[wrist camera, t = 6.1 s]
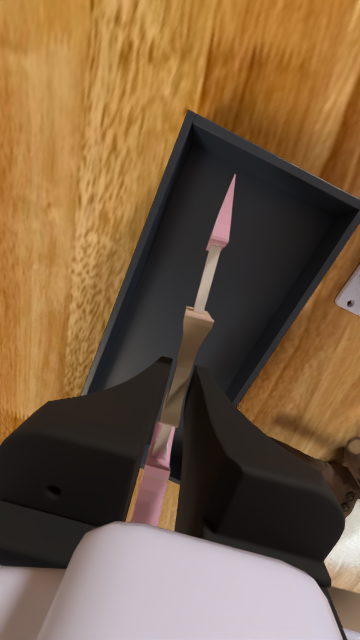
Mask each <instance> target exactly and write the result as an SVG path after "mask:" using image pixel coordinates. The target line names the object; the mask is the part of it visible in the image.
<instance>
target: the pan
mask: <svg viewBox="0 0 360 640" xmlns="http://www.w3.org/2000/svg"><path fill="white" fill-rule="evenodd" d="M235 174H236V177H235V186H234V195H233V204H232V215H231V225H230V234H229V242H228V244H227V245H226V246H225V247H223V248H222V251H221V252H220V254H219V258H218V261H217V265H216V269H215V272H214V276H213V280H212V283H211V287H210V291H209V294H208V298H207V301H206V305H205V309H204V311H208V313H209V314H210V316H211V318H212V319H213V320H214V323H213V326H212V329H211V330H210V331H209V333H208V334H207V336H206V337H205V339H204V340H203V342H202V344H201V346H200V347H199V349H198V352H197V354H196V357H195V359H194V362H193V366H192V369H191V372H190V376H189V379H188V382H187V386H186V389H185V394H184V398H183V402H182V408H181V413H180V421H179V425H178V428H176V427H175V431H174V436H173V441H172V447H171V453H170V462H169V467H170V469H171V470H170V475H169V479H168V480H170V481H172V482H175V483H177V484H179V485H180V481H181V471H182V459H183V413H184V405H185V398H186V394H187V390H188V387H189V384H190V380H191V377H192V374H193V370H194V367H195V365H199V366H203V367H206V368H207V369H208V371H209V372H210V374H211V375H212V377H213V378H214V380H215V381H216V383H217V384H218V385H219V387H220V388H221V390H222V391H223V392H224V394H225V395H226V396H227V397H228V398H229V400H230V401H231V402H232V403H233V404H234V405H235V407H237V405H238V404H239V402H240V401H241V399H242V398H243V396H244V395H245V393H246V392H247V390H248V389H249V387H250V386H251V385H252V383H253V382H254V380H255V379H256V377H257V376H258V374H259V373H260V371H261V370H262V368H263V367H264V365H265V364H266V362H267V361H268V359H269V358H270V356H271V355H272V353H273V352H274V350H275V349H276V347H277V346H278V344H279V343H280V341H281V340H282V338H283V337H284V335H285V334H286V332H287V331H288V329H289V328H290V326H291V325H292V323H293V322H294V320H295V319H296V317H297V316H298V314H299V313H300V311H301V310H302V308H303V307H304V305H305V304H306V303H307V301H308V300H309V298H310V297H311V295H312V294H313V292H314V291H315V289H316V288H317V286H318V285H319V283H320V282H321V280H322V279H323V277H324V276H325V274H326V273H327V271H328V270H329V268H330V267H331V265H332V264H333V262H334V261H335V259H336V258H337V256H338V255H339V253H340V252H341V250H342V249H343V247H344V246H345V244H346V243H347V241H348V240H349V238H350V237H351V235H352V234H353V232H354V231H355V229H356V228H357V226H358V225H359V224H360V199H358V198H356V197H354V196H352V195H351V194H349V193H347V192H345V191H343V190H341V189H339V188H337V187H335V186H333V185H332V184H330V183H328V182H326V181H324V180H322V179H320V178H318V177H316V176H314V175H312V174H311V173H309V172H307V171H305V170H303V169H301V168H299V167H297V166H295V165H293V164H292V163H290V162H288V161H286V160H284V159H282V158H280V157H278V156H276V155H274V154H273V153H271V152H269V151H267V150H265V149H263V148H261V147H259V146H257V145H255V144H253V143H252V142H250V141H248V140H246V139H244V138H242V137H240V136H238V135H236V134H234V133H233V132H231V131H229V130H227V129H225V128H223V127H221V126H219V125H217V124H215V123H214V122H212V121H210V120H208V119H206V118H204V117H202V116H200V115H198V114H196V113H194V112H192V111H190V110H188V111H187V114H186V116H185V119H184V122H183V124H182V127H181V130H180V132H179V135H178V138H177V140H176V143H175V146H174V148H173V151H172V154H171V156H170V159H169V162H168V164H167V167H166V169H165V172H164V175H163V177H162V180H161V183H160V185H159V188H158V191H157V193H156V196H155V199H154V201H153V204H152V207H151V209H150V212H149V215H148V217H147V220H146V223H145V225H144V228H143V231H142V233H141V236H140V239H139V241H138V244H137V247H136V249H135V252H134V254H133V257H132V260H131V262H130V265H129V268H128V270H127V273H126V276H125V278H124V281H123V284H122V286H121V289H120V292H119V294H118V297H117V300H116V302H115V305H114V308H113V310H112V313H111V316H110V318H109V321H108V324H107V326H106V329H105V331H104V334H103V337H102V339H101V342H100V345H99V347H98V350H97V353H96V355H95V358H94V361H93V363H92V366H91V369H90V371H89V374H88V377H87V379H86V382H85V385H84V387H83V390H82V393H81V395H80V396H83V395H87V394H91V393H95V392H98V391H102V390H105V389H108V388H110V387H113V386H116V385H119V384H121V383H123V382H125V381H127V380H129V379H131V378H133V377H134V376H136V375H138V374H139V373H141V372H142V371H144V370H145V369H147V368H148V367H149V366H151V365H152V364H153V363H154V362H155V361H156V360H158V359H159V358H160V357H161V356H164V357H168V358H172V359H173V362H172V366H171V369H170V373H169V377H168V381H167V385H166V389H165V393H164V396H163V400H162V404H161V408H160V410H159V413H158V416H157V419H156V421H155V424H154V427H153V429H152V432H151V435H150V438H149V440H148V443H147V446H146V449H145V452H144V455H143V458H142V462H141V466H140V468H142V469H144V468H145V464H146V460H147V456H148V452H149V448H150V444H151V441H152V437H153V433H154V429H155V425H156V422H160V419H161V414H162V410H163V405H164V401H165V397H166V395H167V393H168V390H169V387H170V384H171V381H172V378H173V375H174V371H175V367H176V363H177V359H178V355H179V351H180V348H181V343H182V339H183V321H184V316H185V311H186V307H187V306H189V307H193V308H194V305H195V302H196V298H197V294H198V290H199V287H200V283H201V279H202V275H203V272H204V268H205V264H206V260H207V257H208V253H209V251H207V250H206V248H207V245H208V242H209V239H210V236H211V234H212V231H213V228H214V225H215V222H216V220H217V217H218V214H219V212H220V209H221V207H222V204H223V202H224V199H225V197H226V194H227V192H228V189H229V187H230V185H231V182H232V180H233V177H234V175H235Z"/></svg>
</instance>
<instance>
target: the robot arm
mask: <svg viewBox="0 0 360 640" xmlns="http://www.w3.org/2000/svg"><path fill="white" fill-rule="evenodd" d="M348 301H351V303H350V304H349V305H348V306H347V302H348ZM335 303H336V305H338V306H340V307H342V308H344V309H346V310H348V311H350V312H352V313H354V314H356V315H358V316H360V264H359V266H358V267H357V269H356V270H355V271H354V273H353V274H352V276H351V277H350V278H349V280H348V281H347V283H346V284H345V285H344V287H343V288H342V290H341V291H340V293H339V294H338V295H337V297H336V299H335ZM172 362H173V359H172V358H168V357H164V356H161V357H160V358H159V359H158V360H156V361H155V362H154V363H153V364H152V365H151V366H149V367H148V368H147V369H145V370H144V371H142V372H141V373H139V374H138V375H136V376H134V377H133V378H131V379H129V380H127V381H125V382H123V383H121V384H119V385H116V386H113V387H110V388H108V389H105V390H102V391H98V392H95V393H91V394H87V395H83V396H78V397H73V398H66V399H60V400H54V401H48V402H47V403H46V404H44V405H43V406H42V407H41V408H39V409H38V410H37V411H35V412H34V413H33V414H32V415H31V416H30V417H29V418H28V419H26V420H25V421H24V422H23V423H22V424H21V425H20V426H19V427H18V428H17V429H16V430H15V431H14V432H12V433H11V434H10V435H9V436H8V437H7V438H6V439H5V440H4V441H3V442H2V444H1V445H0V640H360V632H356V631H353V630H349V629H345V628H343V627H342V625H341V622H340V620H339V617H338V615H337V613H336V610H335V607H334V605H333V603H332V600H331V597H330V595H329V592H328V590H327V587H328V588H329V587H330V586H331V578H330V576H329V573H328V571H327V569H326V566H325V564H324V562H323V561H324V560H325V558H326V557H327V556H328V554H329V553H330V551H331V550H332V549H333V547H334V546H335V545H336V543H337V542H338V540H339V539H340V537H341V535H342V533H343V531H344V528H345V515H344V512H343V509H342V507H341V505H340V503H339V502H338V500H337V498H336V496H335V495H334V493H333V491H332V490H331V488H330V486H329V485H328V483H327V481H326V480H325V478H324V476H323V475H322V473H321V472H319V471H318V470H316V469H314V468H313V467H311V466H310V465H308V464H307V463H305V462H304V461H302V460H300V459H299V458H297V457H296V456H294V455H293V454H291V453H290V452H288V451H287V450H285V449H284V448H283V447H281V446H280V445H279V444H277V443H276V442H274V441H273V440H272V439H271V438H269V437H268V436H267V435H266V434H264V433H263V432H262V431H261V430H260V429H258V428H257V427H256V426H255V425H254V424H253V423H251V422H250V421H249V420H248V419H247V418H246V417H245V416H244V415H243V414H242V413H241V412H240V411H239V410H238V409H237V408H236V407H235V405H234V404H233V403H232V402H231V401H230V400H229V398H228V397H227V396H226V395H225V394H224V392H223V391H222V390H221V388H220V387H219V385H218V384H217V383H216V381H215V380H214V378H213V377H212V375H211V374H210V372H209V371H208V369H207V368H206V367H203V366H199V365H195V367H194V370H193V374H192V377H191V380H190V384H189V387H188V390H187V394H186V398H185V405H184V413H183V459H182V471H181V481H180V490H179V498H178V507H177V515H176V523H175V531H170V530H167V529H163V528H159V527H156V526H152V525H148V524H144V523H132V522H125V521H126V517H127V513H128V510H129V506H130V502H131V499H132V495H133V491H134V488H135V484H136V480H137V477H138V473H139V469H140V466H141V462H142V458H143V455H144V452H145V449H146V446H147V443H148V440H149V438H150V435H151V432H152V429H153V427H154V424H155V421H156V419H157V416H158V413H159V410H160V408H161V404H162V400H163V396H164V393H165V389H166V385H167V381H168V377H169V373H170V369H171V366H172Z"/></svg>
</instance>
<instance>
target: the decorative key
mask: <svg viewBox="0 0 360 640" xmlns="http://www.w3.org/2000/svg"><path fill="white" fill-rule="evenodd" d="M235 177H236V174H235V175H234V177H233V180H232V182H231V185H230V187H229V189H228V192H227V194H226V197H225V199H224V202H223V204H222V207H221V209H220V212H219V214H218V217H217V220H216V222H215V225H214V228H213V231H212V234H211V236H210V239H209V242H208V245H207V248H206V250H207V251H209V253H208V257H207V260H206V264H205V268H204V272H203V275H202V279H201V283H200V287H199V290H198V294H197V298H196V302H195V305H194V308H193V307H189V306H187V307H186V311H185V316H184V321H183V339H182V343H181V348H180V351H179V355H178V359H177V363H176V367H175V371H174V375H173V378H172V381H171V384H170V387H169V390H168V393H167V395H166V397H165V401H164V405H163V410H162V414H161V419H160V422H156V425H155V429H154V433H153V437H152V441H151V444H150V448H149V452H148V456H147V460H146V464H145V468H144V472H143V475H142V479H141V483H140V487H139V491H138V495H137V499H136V503H135V507H134V511H133V515H132V518H131V522H132V523H144V524H148V525H152V526H156V527H157V526H158V522H159V517H160V512H161V508H162V503H163V499H164V495H165V491H166V487H167V483H168V479H169V475H170V470H171V469H170V467H169V462H170V453H171V447H172V441H173V436H174V431H175V427H176V428H178V425H179V421H180V413H181V408H182V402H183V398H184V394H185V389H186V386H187V382H188V379H189V376H190V372H191V369H192V366H193V362H194V359H195V357H196V354H197V352H198V349H199V347H200V346H201V344H202V342H203V340H204V339H205V337H206V336H207V334H208V333H209V331H210V330H211V329H212V326H213V323H214V320H213V319H212V318H211V316H210V314H209V313H208V311H204V309H205V305H206V301H207V298H208V294H209V291H210V287H211V283H212V280H213V276H214V272H215V269H216V265H217V261H218V258H219V254H220V252H221V251H222V248H223V247H225V246H226V245H227V244H228V242H229V234H230V225H231V215H232V204H233V195H234V186H235Z"/></svg>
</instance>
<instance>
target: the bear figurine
mask: <svg viewBox="0 0 360 640" xmlns="http://www.w3.org/2000/svg"><path fill="white" fill-rule="evenodd" d="M269 438H271V437H269ZM271 439H272V440H273V441H274V442H276V443H277V444H279V445H280V446H281V447H283V448H284V449H285V450H287V451H288V452H290V453H291V454H293V455H294V456H296V457H297V458H299V459H300V460H302V461H304V462H305V463H307V464H308V465H310V466H311V467H313V468H314V469H316V470H318V471H319V472H321V473H322V475H323V476H324V478H325V480H326V481H327V483H328V485H329V486H330V488H331V490H332V491H333V493H334V495H335V496H336V498H337V500H338V502H339V503H340V505H341V507H342V509H343V512H344V515H345V518H346V517H347V516H348V515H349V514H350V513H351V512H352V510H353V508H354V505H355V503H356V501H357V499H360V438H359V437H358V438H353V439H351V440H349V442H348V443H347V445H346V446H345V448H344V460H345V463H346V465H347V467H345V466H343V465H341V464H337V463H333V464H331V465H330V464H329V463H327V462H323V461H321V460H318V459H315V458H313V457H310V456H308V455H306V454H304V453H302V452H301V451H299V450H297V449H295V448H292V447H291V446H289V445H287V444H285V443H283V442H280V441H278V440H276V439H274V438H271Z"/></svg>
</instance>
